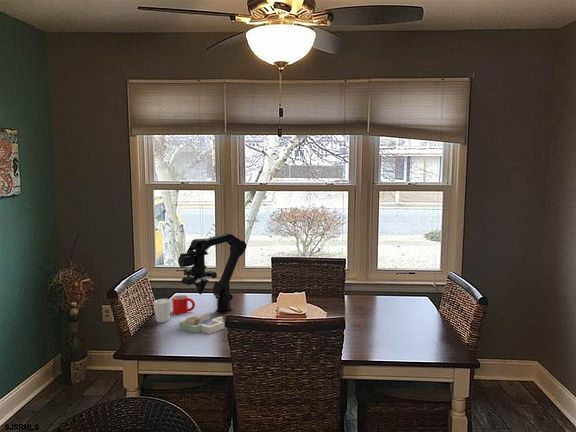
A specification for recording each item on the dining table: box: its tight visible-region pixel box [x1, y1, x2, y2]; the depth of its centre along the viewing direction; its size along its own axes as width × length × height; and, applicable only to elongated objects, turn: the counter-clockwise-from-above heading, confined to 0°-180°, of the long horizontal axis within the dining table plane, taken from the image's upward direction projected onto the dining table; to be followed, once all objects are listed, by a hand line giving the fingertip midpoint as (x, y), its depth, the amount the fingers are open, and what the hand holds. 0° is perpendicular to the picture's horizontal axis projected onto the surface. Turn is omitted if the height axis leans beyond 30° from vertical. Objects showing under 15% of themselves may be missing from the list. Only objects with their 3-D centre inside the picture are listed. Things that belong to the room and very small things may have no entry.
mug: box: [171, 294, 196, 315], centre depth 261 cm, size 8×12×8 cm, turn 85°
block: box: [185, 315, 202, 326], centre depth 236 cm, size 5×5×5 cm
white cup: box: [153, 298, 171, 323], centre depth 248 cm, size 8×8×10 cm
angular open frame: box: [179, 312, 225, 335], centre depth 238 cm, size 18×18×3 cm
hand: (200, 294), depth 251 cm, fingers closed
